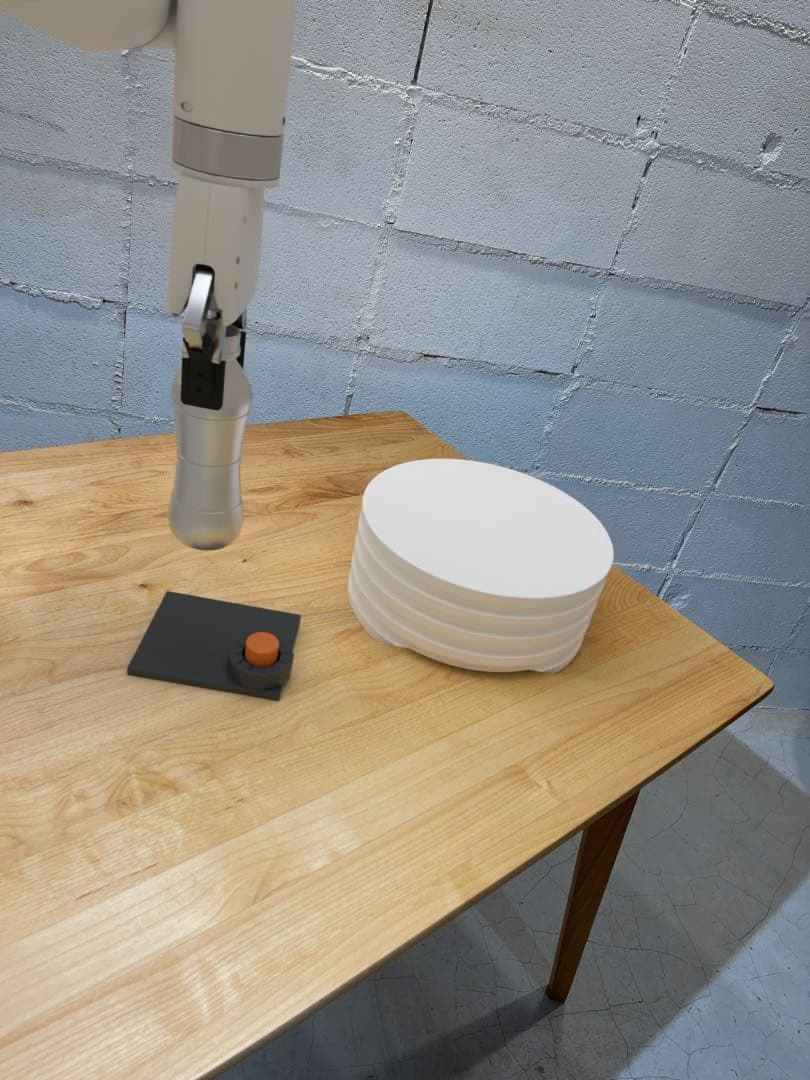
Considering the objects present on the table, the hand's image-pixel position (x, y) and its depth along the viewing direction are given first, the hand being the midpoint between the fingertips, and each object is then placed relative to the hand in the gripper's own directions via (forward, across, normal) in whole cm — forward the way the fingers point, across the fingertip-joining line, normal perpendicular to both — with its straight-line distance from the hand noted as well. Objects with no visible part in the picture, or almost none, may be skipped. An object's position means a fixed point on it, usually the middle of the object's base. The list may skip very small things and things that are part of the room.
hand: (213, 387), depth 67 cm
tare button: (+24, +5, +7) cm, 25 cm away
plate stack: (+28, -15, +28) cm, 42 cm away
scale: (+27, +2, +2) cm, 28 cm away
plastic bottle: (+15, 0, 0) cm, 15 cm away
